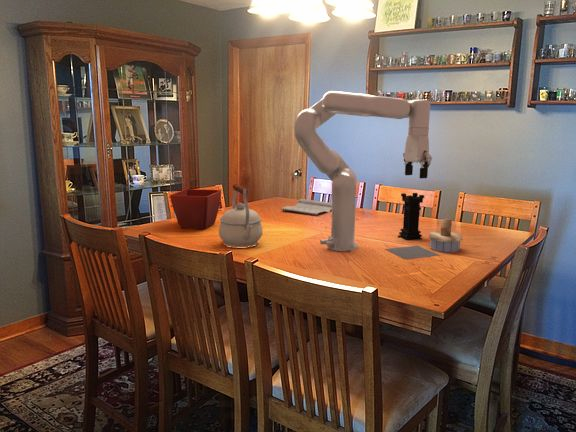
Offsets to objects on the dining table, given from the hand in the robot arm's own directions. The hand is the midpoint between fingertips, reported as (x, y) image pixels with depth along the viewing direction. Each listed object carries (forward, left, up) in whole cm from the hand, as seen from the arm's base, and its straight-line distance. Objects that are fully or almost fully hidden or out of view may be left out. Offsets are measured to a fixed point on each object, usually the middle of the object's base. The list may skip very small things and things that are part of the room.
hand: (415, 176), depth 194 cm
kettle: (-62, +32, -31) cm, 76 cm away
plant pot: (-73, +73, -31) cm, 108 cm away
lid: (+14, -3, -25) cm, 29 cm away
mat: (-6, +91, -31) cm, 96 cm away
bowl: (+14, -3, -30) cm, 34 cm away
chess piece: (+11, +17, -31) cm, 37 cm away
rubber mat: (-2, -3, -30) cm, 31 cm away
